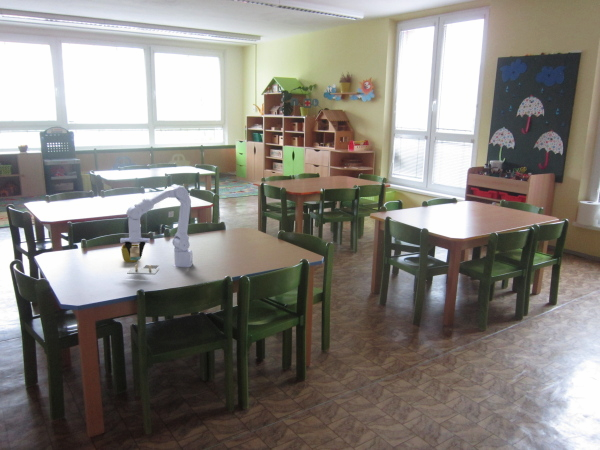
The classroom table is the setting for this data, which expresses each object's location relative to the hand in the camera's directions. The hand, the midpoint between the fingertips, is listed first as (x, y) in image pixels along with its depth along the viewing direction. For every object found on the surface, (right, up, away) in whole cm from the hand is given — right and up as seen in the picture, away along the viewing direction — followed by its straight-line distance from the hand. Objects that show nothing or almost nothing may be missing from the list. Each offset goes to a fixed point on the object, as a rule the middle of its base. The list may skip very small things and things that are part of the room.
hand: (135, 256), depth 250 cm
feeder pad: (+5, -7, +10) cm, 13 cm away
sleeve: (0, -1, 0) cm, 1 cm away
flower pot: (-9, -5, +19) cm, 22 cm away
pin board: (+3, -9, +2) cm, 9 cm away
